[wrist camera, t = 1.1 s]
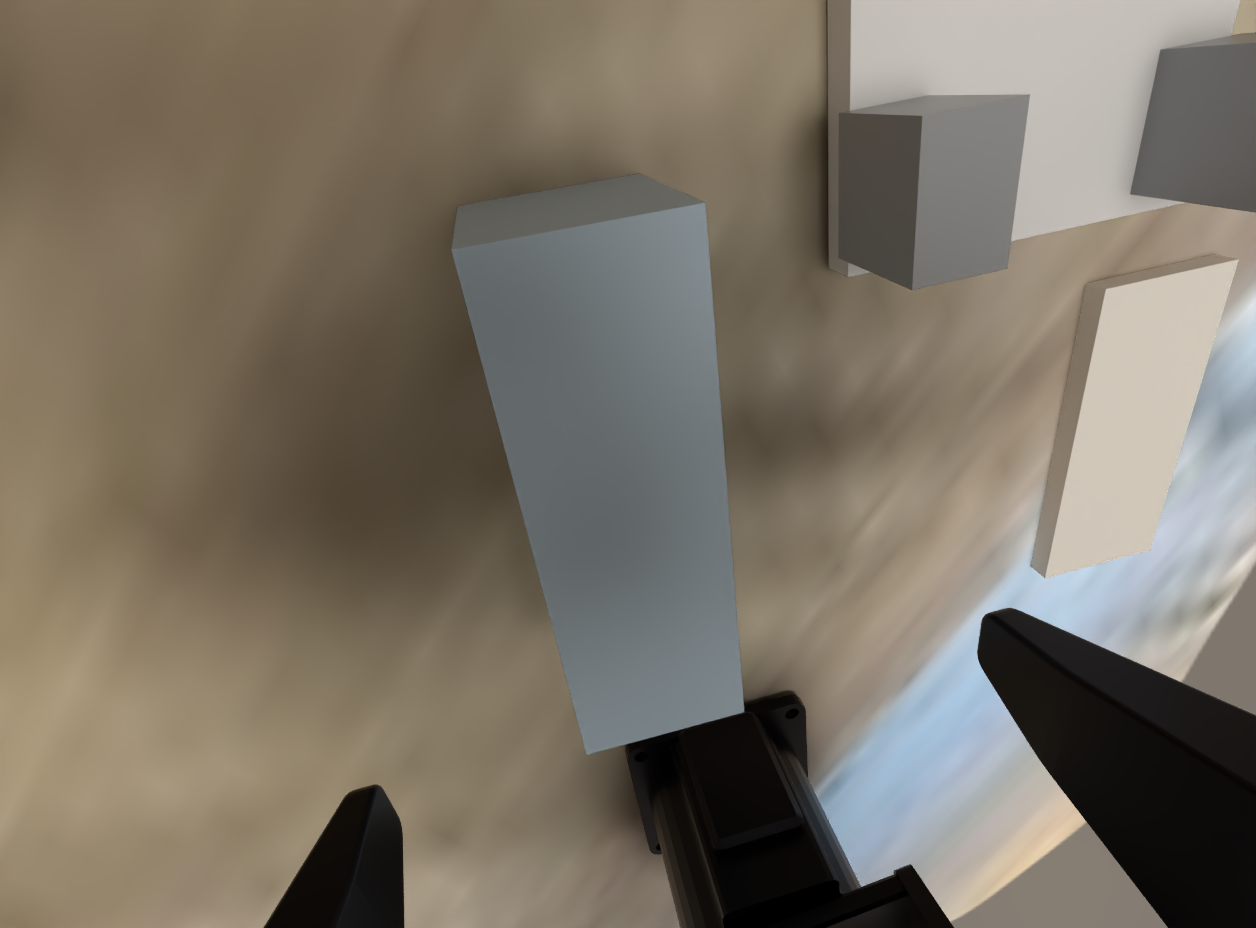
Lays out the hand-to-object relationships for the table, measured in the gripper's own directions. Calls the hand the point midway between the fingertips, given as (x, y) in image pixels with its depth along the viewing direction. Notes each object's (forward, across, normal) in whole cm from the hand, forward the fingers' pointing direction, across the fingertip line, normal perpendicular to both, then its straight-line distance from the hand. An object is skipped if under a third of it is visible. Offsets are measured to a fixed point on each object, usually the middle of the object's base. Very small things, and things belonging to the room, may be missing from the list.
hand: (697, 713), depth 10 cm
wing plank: (+10, -16, +4) cm, 19 cm away
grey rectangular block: (+9, 0, 0) cm, 9 cm away
